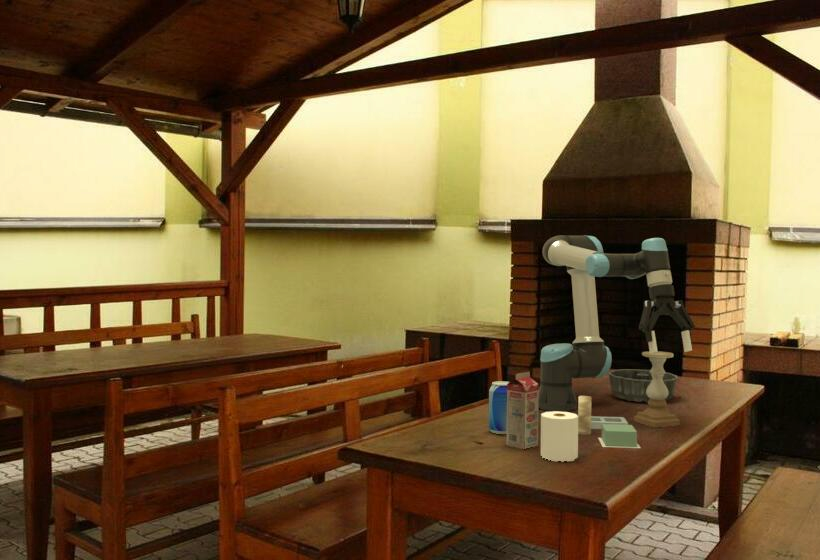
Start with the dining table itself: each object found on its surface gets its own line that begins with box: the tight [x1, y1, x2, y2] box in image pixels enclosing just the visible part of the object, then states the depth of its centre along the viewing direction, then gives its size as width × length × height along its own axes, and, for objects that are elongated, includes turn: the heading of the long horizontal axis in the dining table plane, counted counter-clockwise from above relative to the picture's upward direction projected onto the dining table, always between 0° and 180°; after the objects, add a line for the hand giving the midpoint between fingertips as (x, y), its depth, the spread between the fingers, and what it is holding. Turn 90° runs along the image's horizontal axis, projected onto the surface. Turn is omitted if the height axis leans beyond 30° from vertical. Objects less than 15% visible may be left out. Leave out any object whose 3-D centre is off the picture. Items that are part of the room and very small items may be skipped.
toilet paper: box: [540, 411, 579, 463], centre depth 214 cm, size 10×10×12 cm
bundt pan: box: [607, 368, 679, 404], centre depth 299 cm, size 26×26×10 cm
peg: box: [577, 395, 592, 436], centre depth 240 cm, size 4×4×12 cm
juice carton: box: [506, 370, 540, 449], centre depth 226 cm, size 7×7×22 cm
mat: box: [597, 437, 642, 449], centre depth 229 cm, size 11×11×1 cm
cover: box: [601, 424, 638, 448], centre depth 229 cm, size 9×9×4 cm
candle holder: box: [633, 350, 681, 429], centre depth 256 cm, size 11×11×24 cm
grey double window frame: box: [591, 415, 629, 430], centre depth 251 cm, size 15×9×2 cm, turn 83°
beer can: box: [488, 380, 510, 435], centre depth 243 cm, size 8×8×16 cm
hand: (671, 351), depth 237 cm, fingers open, 13 cm apart
